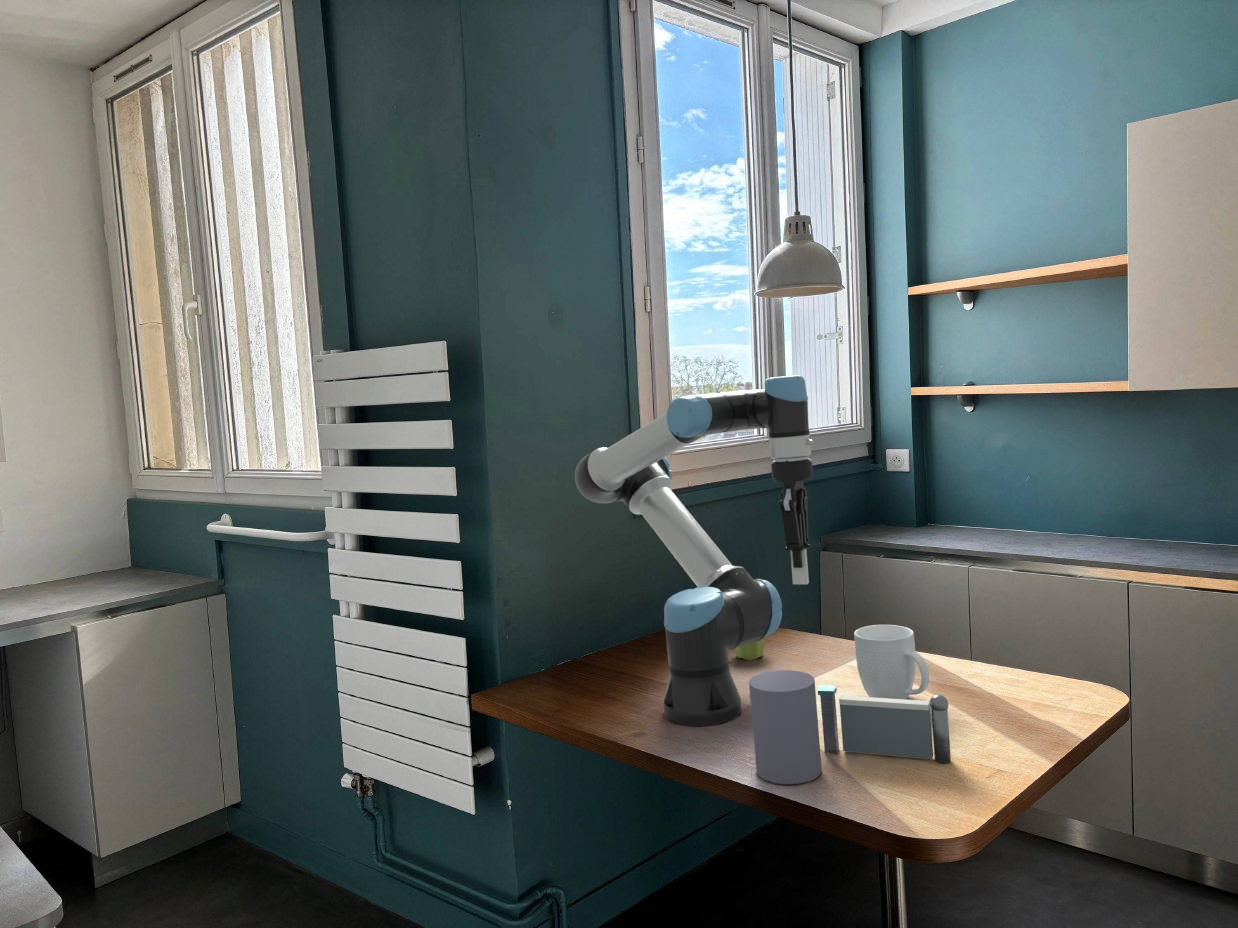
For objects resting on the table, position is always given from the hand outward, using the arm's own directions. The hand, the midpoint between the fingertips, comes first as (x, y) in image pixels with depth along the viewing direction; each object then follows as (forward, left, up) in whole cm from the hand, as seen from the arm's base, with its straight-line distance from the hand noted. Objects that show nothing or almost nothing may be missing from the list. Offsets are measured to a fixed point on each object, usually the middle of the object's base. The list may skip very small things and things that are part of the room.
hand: (800, 583), depth 163 cm
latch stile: (+8, -18, -24) cm, 31 cm away
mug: (+14, +8, -25) cm, 29 cm away
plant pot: (-21, +31, -25) cm, 45 cm away
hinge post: (+25, -18, -24) cm, 39 cm away
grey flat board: (+17, -18, -24) cm, 34 cm away
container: (+2, -27, -25) cm, 37 cm away
